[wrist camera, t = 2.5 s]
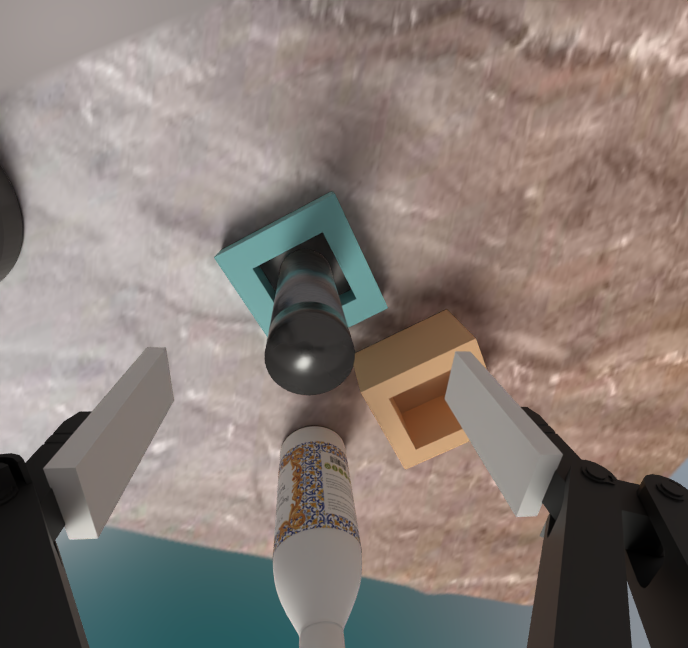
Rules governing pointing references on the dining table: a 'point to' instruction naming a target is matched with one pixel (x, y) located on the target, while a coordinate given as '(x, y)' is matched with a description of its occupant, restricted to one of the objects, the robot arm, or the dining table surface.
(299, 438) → the bath foam
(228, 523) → the dining table surface
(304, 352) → the pin
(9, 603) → the robot arm
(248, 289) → the mount
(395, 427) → the socket
